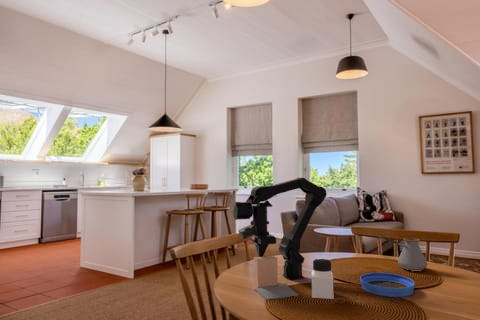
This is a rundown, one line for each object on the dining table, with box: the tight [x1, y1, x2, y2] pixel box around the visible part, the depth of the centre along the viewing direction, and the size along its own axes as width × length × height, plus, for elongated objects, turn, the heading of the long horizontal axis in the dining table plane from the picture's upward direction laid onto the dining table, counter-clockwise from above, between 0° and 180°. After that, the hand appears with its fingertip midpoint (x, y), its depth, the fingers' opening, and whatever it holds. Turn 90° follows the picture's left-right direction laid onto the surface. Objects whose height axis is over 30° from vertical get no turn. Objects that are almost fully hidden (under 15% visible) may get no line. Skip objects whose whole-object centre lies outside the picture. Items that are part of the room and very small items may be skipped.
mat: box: [254, 284, 300, 301], centre depth 121 cm, size 12×11×1 cm
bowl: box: [359, 272, 416, 298], centre depth 124 cm, size 18×18×4 cm
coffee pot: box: [378, 235, 428, 270], centre depth 147 cm, size 21×12×15 cm, turn 104°
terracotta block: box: [253, 255, 279, 288], centre depth 130 cm, size 8×4×10 cm, turn 108°
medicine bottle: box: [311, 258, 335, 300], centre depth 118 cm, size 7×7×12 cm
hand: (260, 258), depth 135 cm, fingers closed
